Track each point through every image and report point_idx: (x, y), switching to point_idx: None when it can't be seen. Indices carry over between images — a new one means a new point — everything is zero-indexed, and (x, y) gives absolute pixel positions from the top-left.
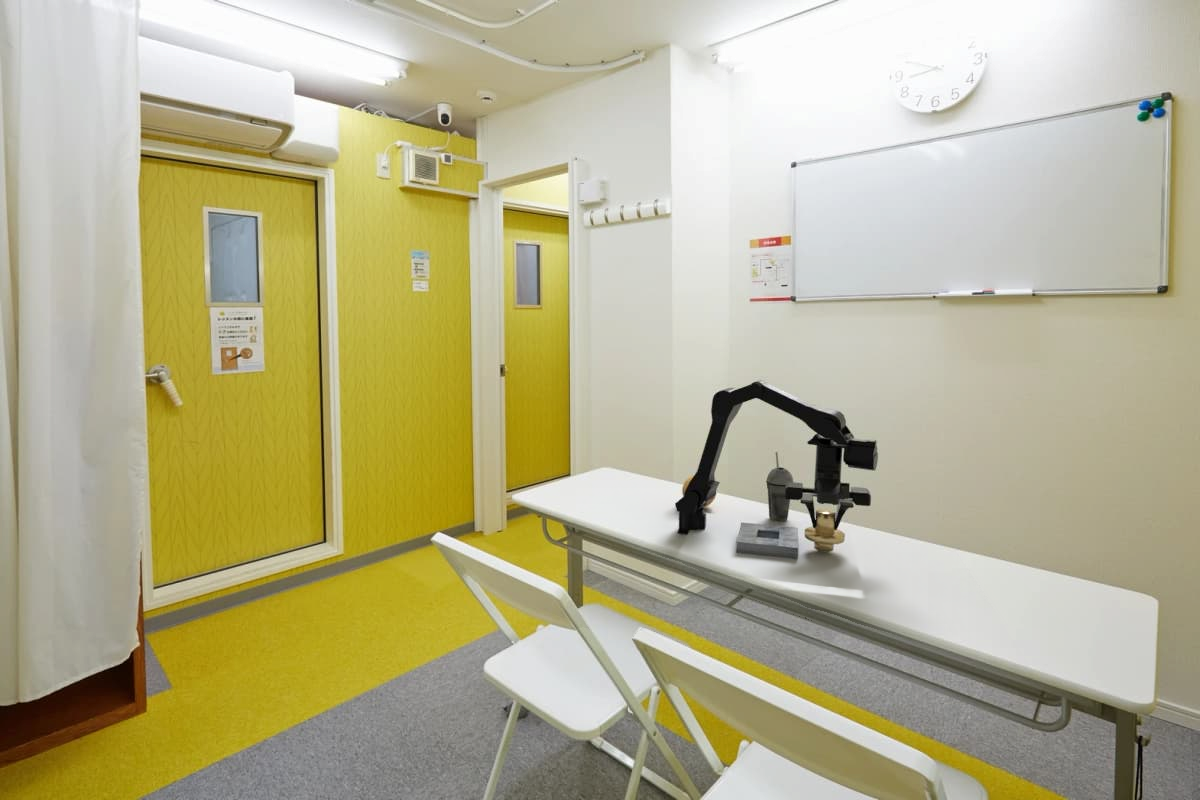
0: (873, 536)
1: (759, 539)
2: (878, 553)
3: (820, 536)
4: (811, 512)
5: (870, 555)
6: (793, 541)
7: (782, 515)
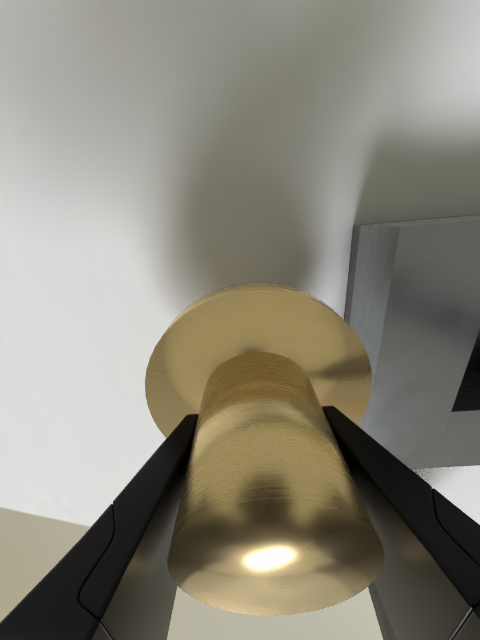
0: None
1: None
2: (88, 419)
3: (282, 333)
4: (453, 530)
5: (106, 398)
6: (407, 318)
7: None
